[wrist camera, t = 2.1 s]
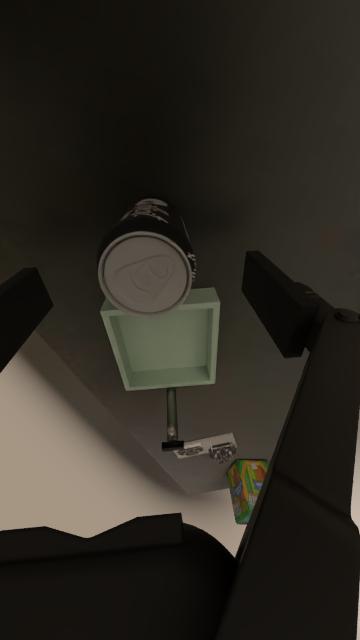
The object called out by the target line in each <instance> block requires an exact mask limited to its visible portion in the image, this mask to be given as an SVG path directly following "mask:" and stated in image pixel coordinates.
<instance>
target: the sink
mask: <svg viewBox="0 0 360 640" xmlns="http://www.w3.org/2000/svg"><path fill="white" fill-rule="evenodd" d="M100 312H101V315H102V318H103V321H104V324H105V328H106V331H107V334H108V337H109V340H110V343H111V346H112V349H113V352H114V355H115V358H116V361H117V364H118V367H119V370H120V373H121V377H122V380H123V383H124V386H125V389H126V391H131V390H143V389H155V388H167V387H178V386H190V385H202V384H214V383H215V375H216V359H217V344H218V328H219V313H220V300H219V298H218V295H217V293H216V290H215V288H214V287H212V288H199V289H190V292H189V294H188V296H187V298H186V299H185V301H184V302H183V303H182V304H181V305H180V306H179V307H178V308H177V309H176V310H174V311H173V312H171V313H169V314H167V315H164V316H161V317H157V318H139V317H135V316H131V315H129V314H126V313H124V312H122V311H121V310H119V309H118V308H116V307H115V306H114V305H113V304H112V303H111V302H110V301H109V300H108V299H107V298H106V299H105V301H104V303H103V306H102V308H101V310H100Z"/></svg>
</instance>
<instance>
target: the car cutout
mask: <svg viewBox="0 0 360 640" xmlns="http://www.w3.org/2000/svg"><path fill="white" fill-rule="evenodd" d="M235 447H237V444H236V442H235V439H234V436H233V433H227V434H222V435H218V436H213V437H208V438H204V439H199V440H194V441H190V442H185V443H184V450H175V451H173V452H174V453H175V454H176V455H177V457H178V458H179V459H180V458H185V457H189V456H194V455H199V454H204V453H209V452H210V457H211V459H213V460H215V459H216V461H217V462H218V463H220V464H221V463H227V462H230V461H231V457H232V456H234V455H235V454H236V449H235Z"/></svg>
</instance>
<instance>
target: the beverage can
mask: <svg viewBox="0 0 360 640" xmlns="http://www.w3.org/2000/svg"><path fill="white" fill-rule="evenodd" d="M97 269H98V278H99V283H100V286H101V289H102V291H103V293H104V295H105V296H106V298H107V299H108V300H109V301H110V302H111V303H112V304H113V305H114V306H115V307H116V308H118V309H119V310H121V311H122V312H124V313H126V314H129V315H131V316H135V317H139V318H157V317H161V316H164V315H167V314H169V313H171V312H173V311H174V310H176V309H177V308H178V307H179V306H180V305H181V304H182V303H183V302H184V301H185V299H186V298H187V296H188V294H189V292H190V289H191V287H192V285H193V282H194V279H195V274H196V261H195V256H194V253H193V249H192V246H191V243H190V240H189V237H188V234H187V231H186V228H185V225H184V222H183V219H182V217H181V215H180V213H179V212H178V211H177V209H176V208H175V207H174V206H173V205H171V204H170V203H169V202H167V201H165V200H163V199H160V198H156V197H146V198H142V199H139V200H137V201H135V202H134V203H133V204H131V205H130V206H129V207H128V208H127V210H126V211H125V212H124V213H123V215H122V216H121V217H120V218H119V220H118V221H117V222H116V223H115V225H114V226H113V227H112V228H111V229H110V231H109V232H108V233H107V234H106V236H105V237H104V239H103V240H102V242H101V244H100V247H99V250H98V254H97Z"/></svg>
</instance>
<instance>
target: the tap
mask: <svg viewBox="0 0 360 640" xmlns="http://www.w3.org/2000/svg"><path fill="white" fill-rule="evenodd" d="M175 450H184V441H178V425H177V406H176V387H167V442H162V451H163V452H164V451H175Z"/></svg>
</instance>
